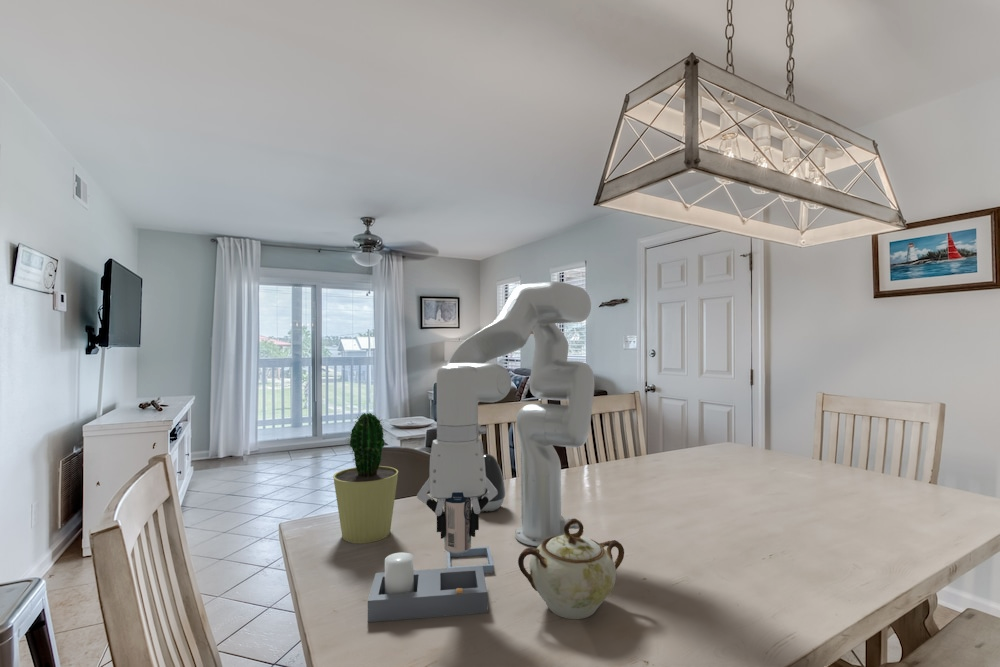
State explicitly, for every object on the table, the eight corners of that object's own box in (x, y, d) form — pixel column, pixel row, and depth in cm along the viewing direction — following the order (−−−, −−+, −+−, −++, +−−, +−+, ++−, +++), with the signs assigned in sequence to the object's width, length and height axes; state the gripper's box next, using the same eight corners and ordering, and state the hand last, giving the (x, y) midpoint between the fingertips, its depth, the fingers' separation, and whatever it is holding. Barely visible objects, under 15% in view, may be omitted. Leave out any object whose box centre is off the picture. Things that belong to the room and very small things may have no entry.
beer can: (474, 553, 86) (474, 484, 86) (447, 557, 84) (447, 487, 84) (466, 543, 90) (466, 478, 91) (441, 546, 89) (441, 480, 89)
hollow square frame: (488, 553, 106) (488, 546, 106) (493, 572, 97) (493, 565, 97) (446, 556, 105) (446, 549, 105) (447, 575, 96) (447, 568, 96)
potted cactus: (330, 528, 122) (330, 409, 123) (391, 519, 128) (391, 405, 129) (336, 552, 108) (336, 417, 109) (404, 540, 114) (404, 412, 115)
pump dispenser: (464, 505, 139) (463, 452, 139) (498, 501, 142) (497, 449, 143) (474, 517, 129) (473, 459, 130) (510, 512, 133) (510, 456, 133)
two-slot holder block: (482, 584, 92) (482, 542, 93) (487, 612, 83) (487, 565, 83) (375, 591, 90) (375, 548, 90) (367, 622, 80) (367, 573, 80)
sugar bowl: (605, 579, 94) (604, 501, 94) (646, 621, 79) (644, 529, 80) (507, 592, 89) (506, 510, 90) (531, 640, 75) (530, 542, 75)
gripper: (501, 428, 93) (501, 525, 92) (411, 431, 90) (411, 529, 90) (506, 435, 85) (507, 540, 84) (408, 438, 83) (408, 545, 82)
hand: (457, 533), depth 87 cm, fingers closed on beer can, 4 cm apart
